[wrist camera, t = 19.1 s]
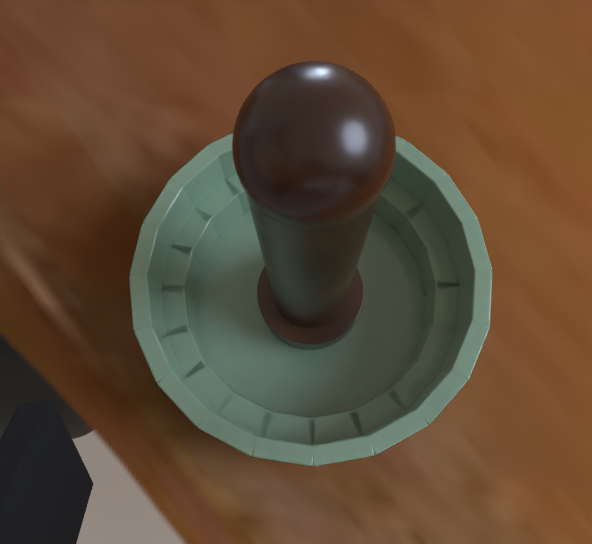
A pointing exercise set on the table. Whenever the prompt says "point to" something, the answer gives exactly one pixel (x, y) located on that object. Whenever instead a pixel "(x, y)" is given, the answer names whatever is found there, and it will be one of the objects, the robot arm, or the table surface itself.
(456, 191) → the bowl
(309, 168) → the pestle
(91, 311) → the table surface
